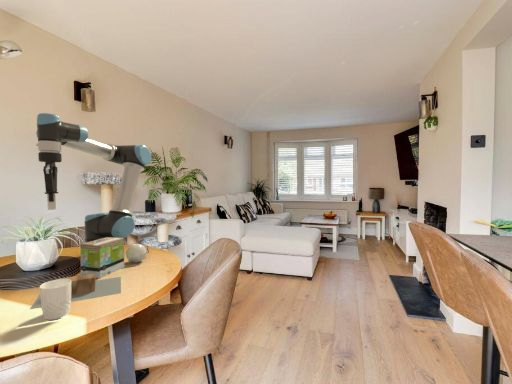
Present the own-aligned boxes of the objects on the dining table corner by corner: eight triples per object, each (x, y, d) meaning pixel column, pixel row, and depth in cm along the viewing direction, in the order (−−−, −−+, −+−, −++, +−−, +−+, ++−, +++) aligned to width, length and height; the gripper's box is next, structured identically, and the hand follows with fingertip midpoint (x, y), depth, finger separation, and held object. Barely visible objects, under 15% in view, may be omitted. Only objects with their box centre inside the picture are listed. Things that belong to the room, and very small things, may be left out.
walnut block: (95, 273, 103) (56, 279, 97) (94, 277, 98) (53, 283, 93) (95, 286, 103) (56, 292, 97) (94, 291, 98) (53, 297, 93)
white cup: (54, 308, 86) (53, 278, 86) (78, 309, 86) (77, 278, 86) (33, 321, 78) (32, 288, 78) (59, 322, 78) (58, 288, 78)
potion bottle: (129, 268, 129) (140, 262, 144) (146, 256, 130) (155, 251, 145) (118, 253, 129) (130, 248, 144) (135, 240, 130) (145, 237, 145)
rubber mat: (120, 278, 113) (120, 276, 113) (121, 294, 97) (121, 292, 97) (43, 289, 101) (43, 288, 101) (29, 310, 85) (29, 309, 85)
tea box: (100, 280, 111) (99, 245, 110) (80, 278, 113) (79, 243, 112) (125, 268, 125) (124, 237, 125) (106, 266, 127) (105, 236, 127)
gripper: (42, 153, 114) (44, 208, 115) (33, 150, 102) (36, 211, 103) (64, 154, 117) (66, 207, 118) (58, 151, 105) (60, 210, 107)
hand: (52, 209), depth 111 cm, fingers closed
